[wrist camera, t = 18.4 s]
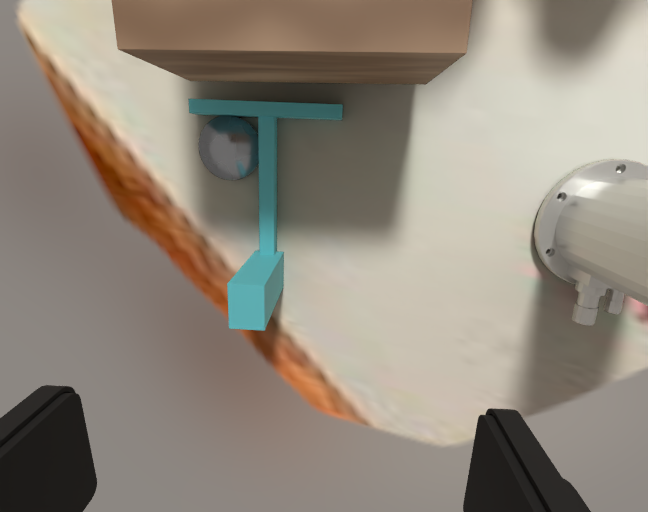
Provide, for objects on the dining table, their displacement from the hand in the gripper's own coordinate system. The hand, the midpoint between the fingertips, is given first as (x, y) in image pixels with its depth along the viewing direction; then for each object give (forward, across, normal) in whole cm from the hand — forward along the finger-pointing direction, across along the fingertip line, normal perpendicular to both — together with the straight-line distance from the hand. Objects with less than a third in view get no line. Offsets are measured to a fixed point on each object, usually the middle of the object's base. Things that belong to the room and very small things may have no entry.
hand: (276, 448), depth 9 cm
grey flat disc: (+31, +10, -6) cm, 33 cm away
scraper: (+30, +6, -1) cm, 31 cm away
